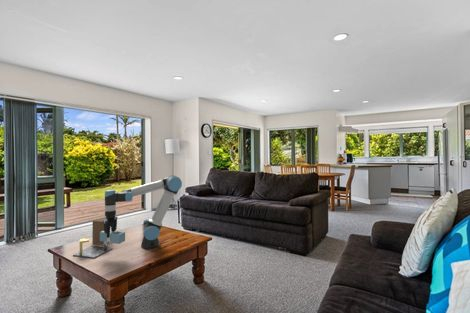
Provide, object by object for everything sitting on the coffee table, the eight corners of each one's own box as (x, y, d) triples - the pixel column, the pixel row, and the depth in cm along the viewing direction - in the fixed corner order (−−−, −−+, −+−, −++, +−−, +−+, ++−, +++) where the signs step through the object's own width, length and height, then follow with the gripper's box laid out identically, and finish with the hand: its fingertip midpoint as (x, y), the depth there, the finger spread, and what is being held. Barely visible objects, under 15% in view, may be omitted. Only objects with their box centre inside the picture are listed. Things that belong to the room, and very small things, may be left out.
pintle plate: (112, 249, 205) (112, 235, 205) (94, 258, 186) (94, 243, 186) (92, 246, 209) (92, 233, 209) (72, 256, 190) (73, 241, 190)
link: (125, 240, 191) (125, 231, 190) (118, 244, 184) (118, 234, 184) (104, 238, 195) (104, 230, 194) (97, 241, 188) (97, 232, 188)
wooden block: (101, 244, 215) (102, 221, 215) (92, 243, 217) (92, 220, 217) (109, 240, 225) (110, 218, 225) (100, 239, 227) (100, 218, 227)
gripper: (113, 207, 198) (113, 237, 198) (98, 212, 182) (98, 244, 182) (121, 208, 196) (121, 237, 196) (107, 212, 180) (107, 244, 181)
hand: (110, 240), depth 189 cm, fingers closed on link, 3 cm apart
